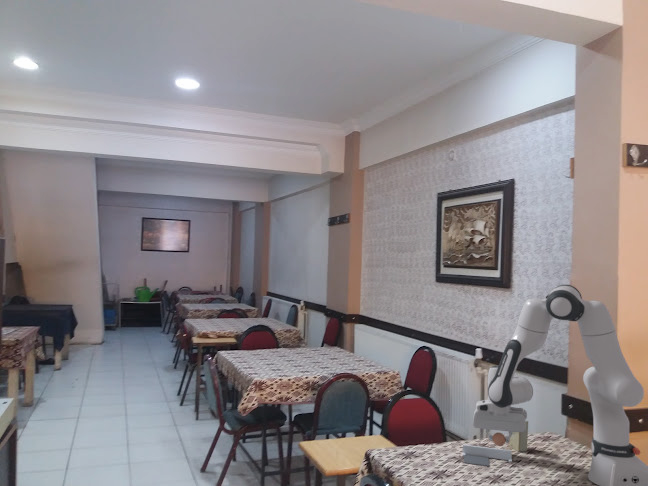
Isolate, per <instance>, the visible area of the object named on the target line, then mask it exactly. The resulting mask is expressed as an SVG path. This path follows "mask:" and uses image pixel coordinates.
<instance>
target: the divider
mask: <svg viewBox="0 0 648 486" xmlns="http://www.w3.org/2000/svg"><path fill="white" fill-rule="evenodd" d="M465 454H467V455H475V456H482V457H488V459H489V458H490V459H495V460H496V459H497V460H504V461H508V462H509V463H512V462H513V460H512V450H511V449H503V448H495V447H486V446H478V445H471V444H470V445H469V444H462V457H464V456H465Z"/></svg>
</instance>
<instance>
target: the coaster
mask: <svg viewBox="0 0 648 486" xmlns="http://www.w3.org/2000/svg"><path fill="white" fill-rule="evenodd" d="M489 461H490V460H489V458H488V457H482V456H475V455H467V454H465V456H463V463H464V464H466V465H467V464H468V465H476V466H483V467H490V462H489Z"/></svg>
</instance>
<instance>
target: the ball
mask: <svg viewBox="0 0 648 486" xmlns="http://www.w3.org/2000/svg"><path fill="white" fill-rule="evenodd" d="M492 436H493V438H492V439H493V441H492V442H493V444H494V445H495V446H498V447H502V446H504V445H505V444H506V439H505V437H506V436H505V435H504V434H503V433H501V432H494V434H493V435H492Z"/></svg>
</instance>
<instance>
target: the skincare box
mask: <svg viewBox="0 0 648 486" xmlns="http://www.w3.org/2000/svg"><path fill="white" fill-rule="evenodd" d="M525 422H526V432H525V433H520V432H513V435H512V436H511V438H510V443H509V444H508V445H509V446H508V447H510V448H511V449H512V450H515V451H517V452H527V451H528V434H529V433H528V432H529V420H527V419H526V420H525Z"/></svg>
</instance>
